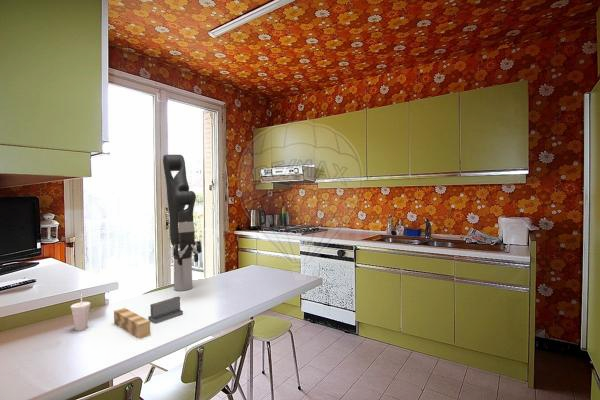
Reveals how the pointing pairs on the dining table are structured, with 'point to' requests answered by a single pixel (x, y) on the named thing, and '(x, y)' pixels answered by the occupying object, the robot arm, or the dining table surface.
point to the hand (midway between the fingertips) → (188, 263)
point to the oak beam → (132, 323)
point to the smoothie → (80, 314)
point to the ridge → (165, 310)
